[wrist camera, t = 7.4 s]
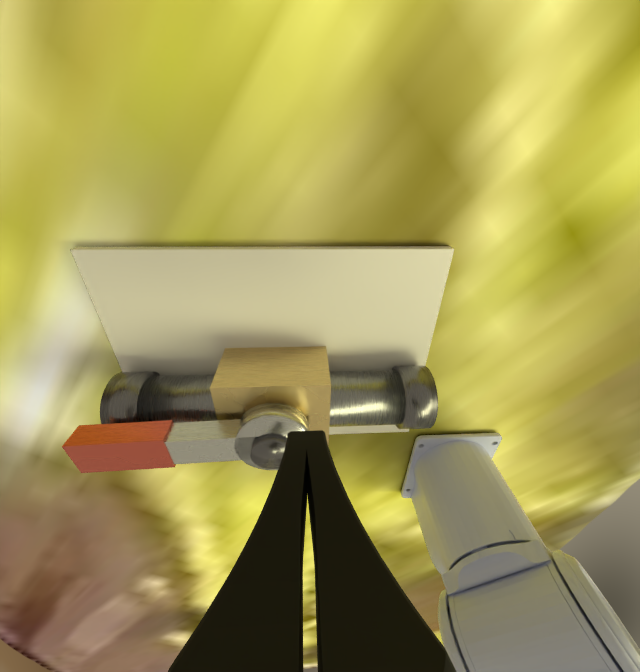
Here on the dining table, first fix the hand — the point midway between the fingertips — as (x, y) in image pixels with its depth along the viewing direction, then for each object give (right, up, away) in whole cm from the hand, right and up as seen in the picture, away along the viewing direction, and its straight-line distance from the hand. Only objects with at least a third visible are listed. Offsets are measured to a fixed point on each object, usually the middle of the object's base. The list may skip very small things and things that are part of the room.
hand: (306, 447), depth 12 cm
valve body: (-3, +1, +11) cm, 12 cm away
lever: (-7, -2, +7) cm, 10 cm away
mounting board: (-3, +3, +10) cm, 11 cm away
